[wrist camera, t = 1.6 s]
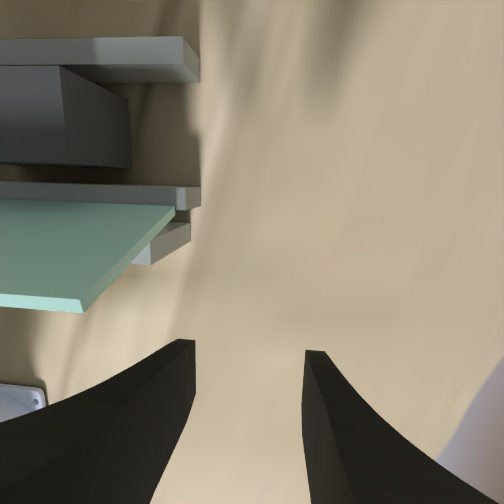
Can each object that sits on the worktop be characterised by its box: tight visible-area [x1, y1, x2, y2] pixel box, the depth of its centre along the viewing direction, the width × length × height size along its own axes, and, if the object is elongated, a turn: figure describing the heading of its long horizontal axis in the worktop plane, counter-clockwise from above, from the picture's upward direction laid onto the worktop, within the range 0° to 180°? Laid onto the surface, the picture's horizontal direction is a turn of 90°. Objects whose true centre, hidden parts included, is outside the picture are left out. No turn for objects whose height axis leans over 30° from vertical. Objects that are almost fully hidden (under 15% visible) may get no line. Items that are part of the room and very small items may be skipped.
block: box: [0, 66, 132, 168], centre depth 17 cm, size 4×8×6 cm, turn 89°
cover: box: [0, 199, 175, 313], centre depth 14 cm, size 8×12×1 cm
